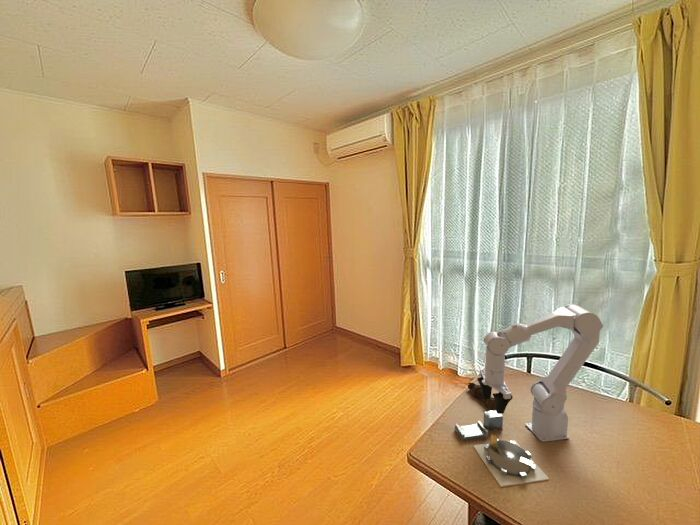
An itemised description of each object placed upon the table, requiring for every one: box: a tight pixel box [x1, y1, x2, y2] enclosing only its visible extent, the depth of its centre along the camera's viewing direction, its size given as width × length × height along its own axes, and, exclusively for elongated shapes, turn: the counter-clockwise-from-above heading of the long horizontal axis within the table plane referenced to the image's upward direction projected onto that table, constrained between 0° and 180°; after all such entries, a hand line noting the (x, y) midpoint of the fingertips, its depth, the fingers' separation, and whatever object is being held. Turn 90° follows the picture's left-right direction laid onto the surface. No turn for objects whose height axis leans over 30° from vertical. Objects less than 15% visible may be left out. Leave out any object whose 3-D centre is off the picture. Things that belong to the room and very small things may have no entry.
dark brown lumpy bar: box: [467, 382, 496, 411], centre depth 113 cm, size 6×5×15 cm
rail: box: [454, 420, 489, 442], centre depth 96 cm, size 9×5×2 cm, turn 96°
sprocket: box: [484, 433, 535, 479], centre depth 84 cm, size 13×13×6 cm
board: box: [473, 439, 550, 488], centre depth 85 cm, size 14×14×1 cm
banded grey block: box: [483, 410, 504, 432], centre depth 99 cm, size 5×3×5 cm, turn 96°
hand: (493, 405), depth 98 cm, fingers open, 7 cm apart
